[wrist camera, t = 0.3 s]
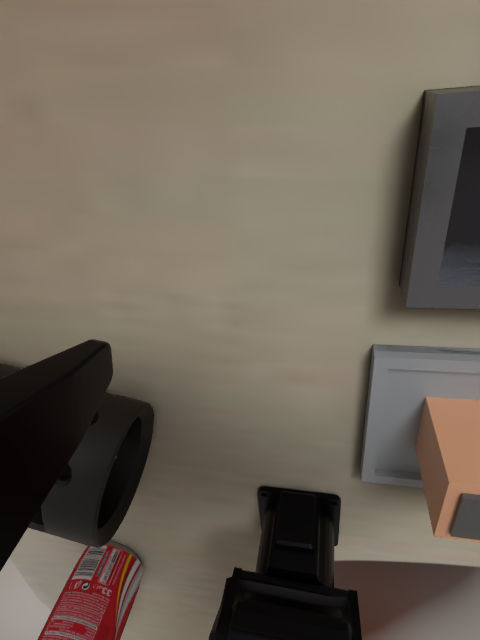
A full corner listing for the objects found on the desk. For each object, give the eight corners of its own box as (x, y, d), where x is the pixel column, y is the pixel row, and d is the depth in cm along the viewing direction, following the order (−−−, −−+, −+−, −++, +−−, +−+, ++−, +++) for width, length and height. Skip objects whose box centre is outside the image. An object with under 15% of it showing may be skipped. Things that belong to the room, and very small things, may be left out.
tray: (530, 484, 27) (537, 500, 26) (360, 467, 29) (361, 481, 28) (589, 353, 21) (601, 367, 20) (372, 344, 24) (374, 356, 23)
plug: (490, 454, 26) (530, 554, 20) (415, 447, 27) (434, 541, 21) (509, 402, 23) (559, 499, 18) (425, 396, 24) (450, 488, 19)
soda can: (124, 577, 47) (68, 714, 37) (75, 545, 45) (2, 681, 35) (160, 563, 43) (108, 711, 33) (109, 528, 42) (38, 674, 32)
